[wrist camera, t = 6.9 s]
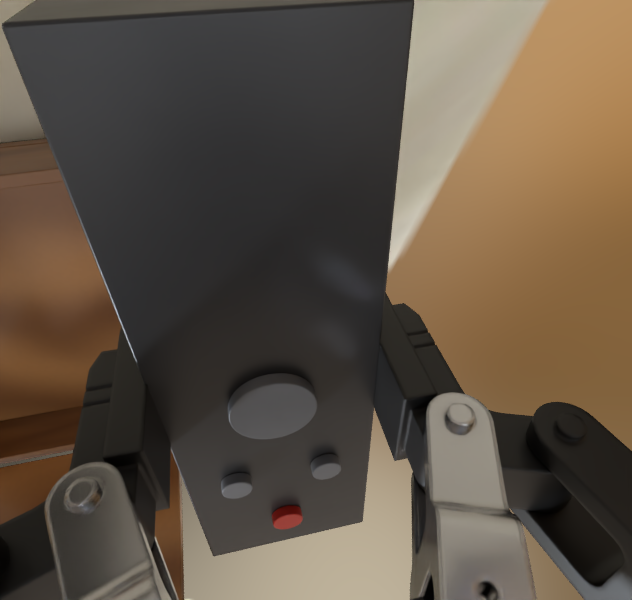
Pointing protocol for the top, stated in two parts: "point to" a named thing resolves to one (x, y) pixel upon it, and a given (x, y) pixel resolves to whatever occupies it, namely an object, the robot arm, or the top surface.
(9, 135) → the top surface
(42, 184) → the chest
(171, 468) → the lid
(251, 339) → the remote
